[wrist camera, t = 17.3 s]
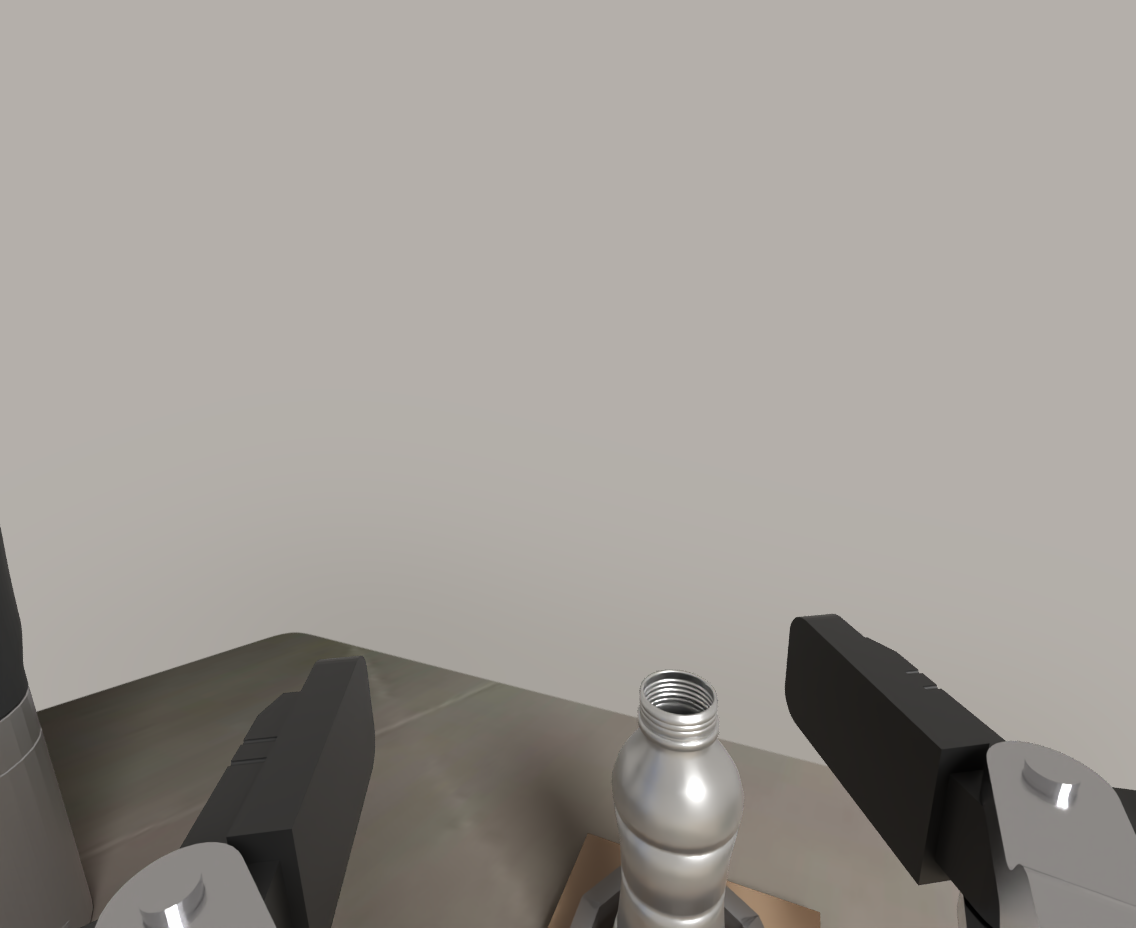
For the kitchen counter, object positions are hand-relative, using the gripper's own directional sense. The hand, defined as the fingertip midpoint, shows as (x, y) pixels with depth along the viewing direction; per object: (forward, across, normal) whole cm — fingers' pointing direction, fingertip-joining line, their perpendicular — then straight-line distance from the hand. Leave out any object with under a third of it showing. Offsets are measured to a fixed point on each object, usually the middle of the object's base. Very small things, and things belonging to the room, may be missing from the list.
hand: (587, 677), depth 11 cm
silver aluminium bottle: (+14, -7, +31) cm, 35 cm away
